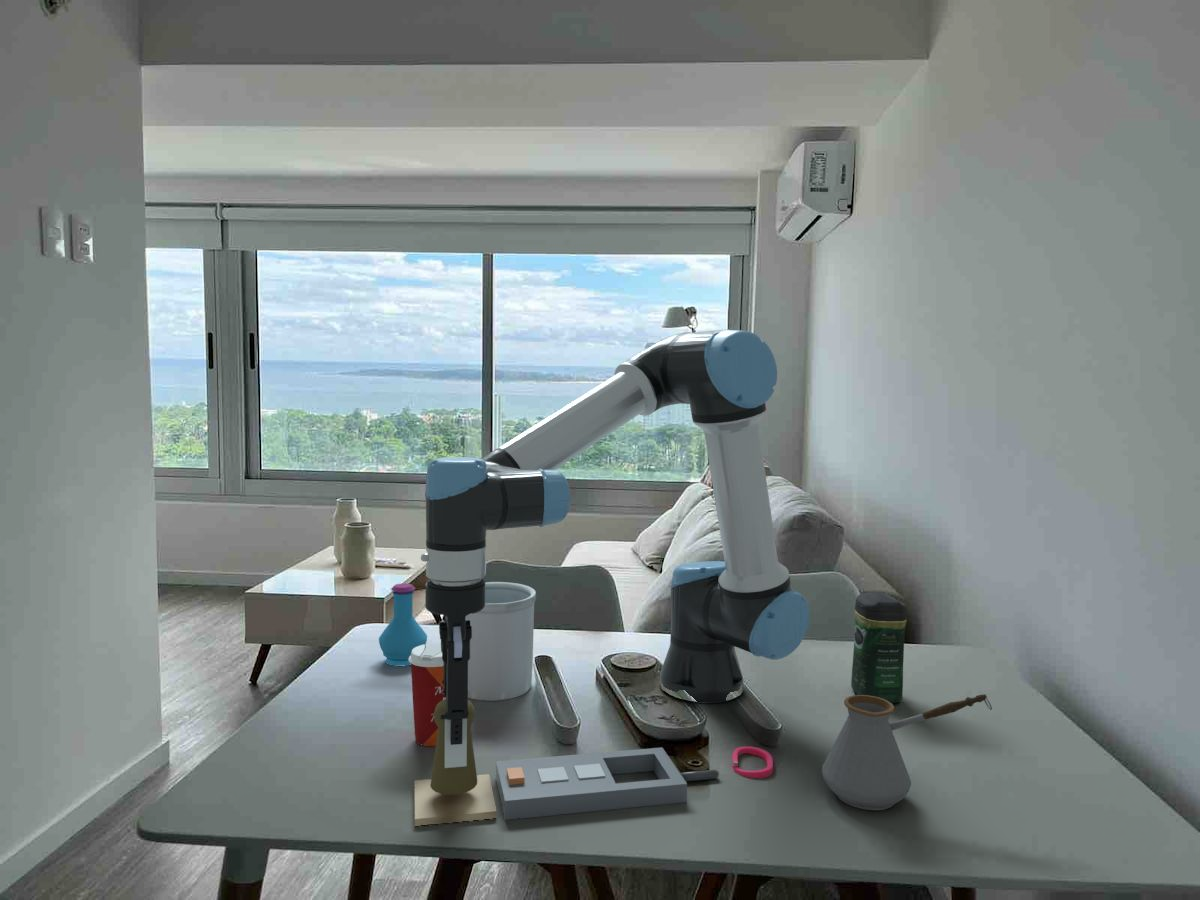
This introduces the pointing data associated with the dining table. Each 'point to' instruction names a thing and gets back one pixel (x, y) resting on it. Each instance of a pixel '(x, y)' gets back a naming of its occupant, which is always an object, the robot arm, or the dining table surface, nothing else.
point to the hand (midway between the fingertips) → (454, 755)
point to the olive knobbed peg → (455, 777)
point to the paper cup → (426, 690)
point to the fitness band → (754, 751)
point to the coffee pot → (874, 752)
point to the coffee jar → (878, 646)
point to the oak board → (454, 803)
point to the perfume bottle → (401, 628)
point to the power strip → (590, 783)
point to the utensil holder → (502, 643)
